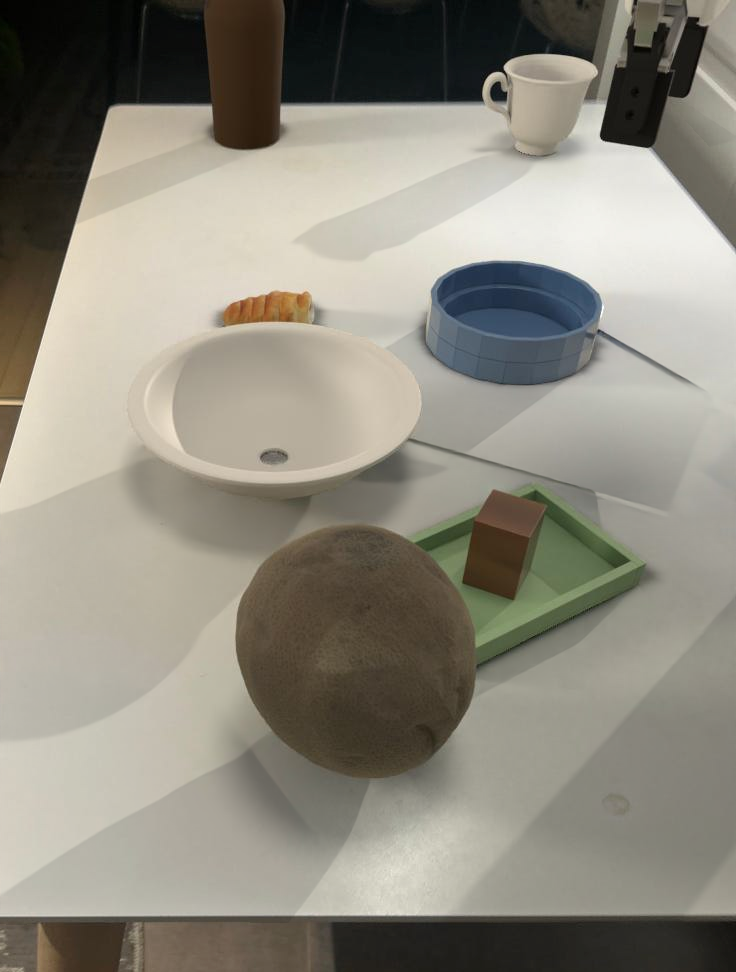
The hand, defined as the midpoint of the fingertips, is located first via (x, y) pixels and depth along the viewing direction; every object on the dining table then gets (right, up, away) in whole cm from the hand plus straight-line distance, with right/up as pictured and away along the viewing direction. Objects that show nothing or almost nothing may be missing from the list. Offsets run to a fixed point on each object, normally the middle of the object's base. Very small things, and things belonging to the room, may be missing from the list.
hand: (645, 117), depth 59 cm
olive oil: (-26, +39, +77) cm, 90 cm away
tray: (-6, -28, +12) cm, 31 cm away
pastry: (-22, -1, +39) cm, 45 cm away
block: (-6, -28, +12) cm, 31 cm away
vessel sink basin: (-23, -17, +23) cm, 37 cm away
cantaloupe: (-18, -39, +2) cm, 43 cm away
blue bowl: (+1, -3, +36) cm, 36 cm away
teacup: (+13, +35, +73) cm, 82 cm away
